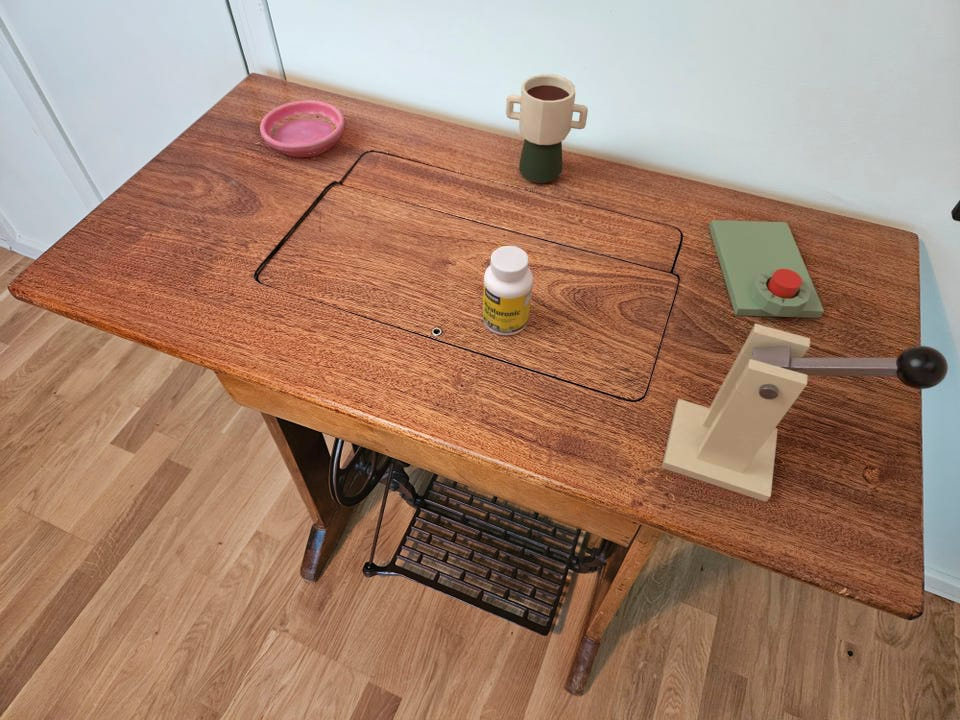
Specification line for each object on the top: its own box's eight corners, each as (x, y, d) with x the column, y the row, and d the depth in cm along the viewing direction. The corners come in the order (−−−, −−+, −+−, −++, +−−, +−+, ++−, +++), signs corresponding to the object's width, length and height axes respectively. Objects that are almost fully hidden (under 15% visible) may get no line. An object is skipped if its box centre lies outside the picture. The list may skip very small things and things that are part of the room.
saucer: (279, 173, 89) (273, 154, 87) (254, 130, 96) (248, 111, 94) (359, 149, 93) (356, 130, 91) (330, 110, 100) (327, 91, 97)
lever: (944, 366, 47) (947, 336, 45) (947, 398, 45) (951, 369, 43) (757, 364, 54) (753, 339, 52) (753, 393, 52) (749, 367, 50)
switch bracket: (773, 434, 63) (847, 334, 51) (766, 502, 59) (845, 410, 46) (675, 404, 65) (723, 301, 53) (661, 468, 61) (709, 371, 48)
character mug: (580, 165, 91) (594, 79, 81) (572, 194, 87) (586, 107, 77) (509, 153, 93) (513, 68, 83) (497, 181, 89) (501, 95, 78)
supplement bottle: (475, 329, 72) (475, 267, 64) (492, 297, 75) (494, 235, 67) (519, 343, 70) (525, 281, 63) (535, 310, 73) (542, 248, 66)
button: (799, 299, 71) (805, 288, 70) (771, 298, 71) (777, 287, 70) (791, 279, 73) (797, 269, 72) (764, 279, 73) (770, 268, 72)
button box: (822, 324, 72) (834, 307, 70) (737, 322, 73) (745, 304, 70) (783, 229, 83) (792, 211, 81) (708, 227, 83) (715, 209, 81)
